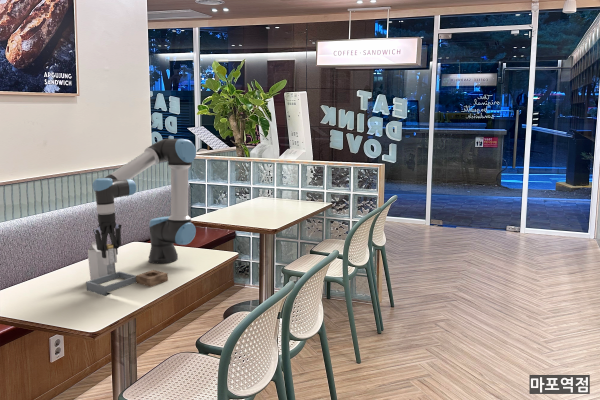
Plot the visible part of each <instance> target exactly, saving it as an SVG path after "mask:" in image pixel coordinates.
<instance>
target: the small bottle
mask: <svg viewBox="0 0 600 400" xmlns="http://www.w3.org/2000/svg"><path fill="white" fill-rule="evenodd" d="M106 250H107V251H108V257H109V265H107V274H108V275H112V274H115V273H116V272H117V271H116V263H115V258H114V247H113V244H112V243H107V246H106Z"/></svg>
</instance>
